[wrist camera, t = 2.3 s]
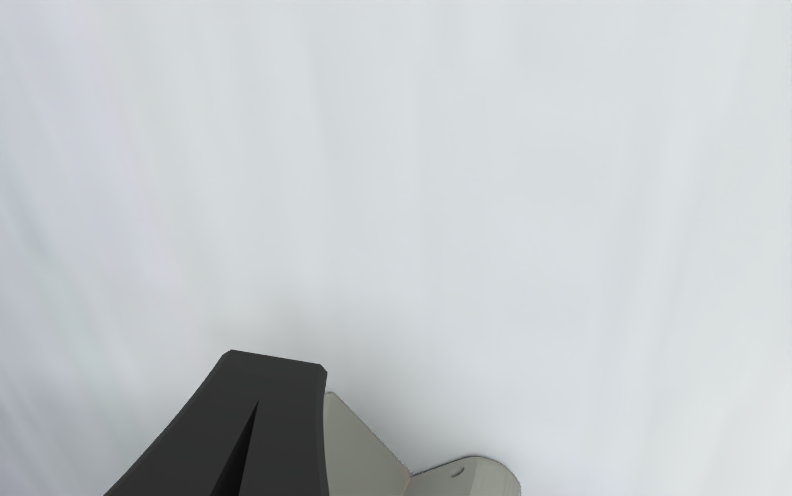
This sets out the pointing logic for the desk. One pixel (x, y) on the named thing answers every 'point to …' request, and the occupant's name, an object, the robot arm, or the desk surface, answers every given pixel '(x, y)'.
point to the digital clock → (398, 465)
